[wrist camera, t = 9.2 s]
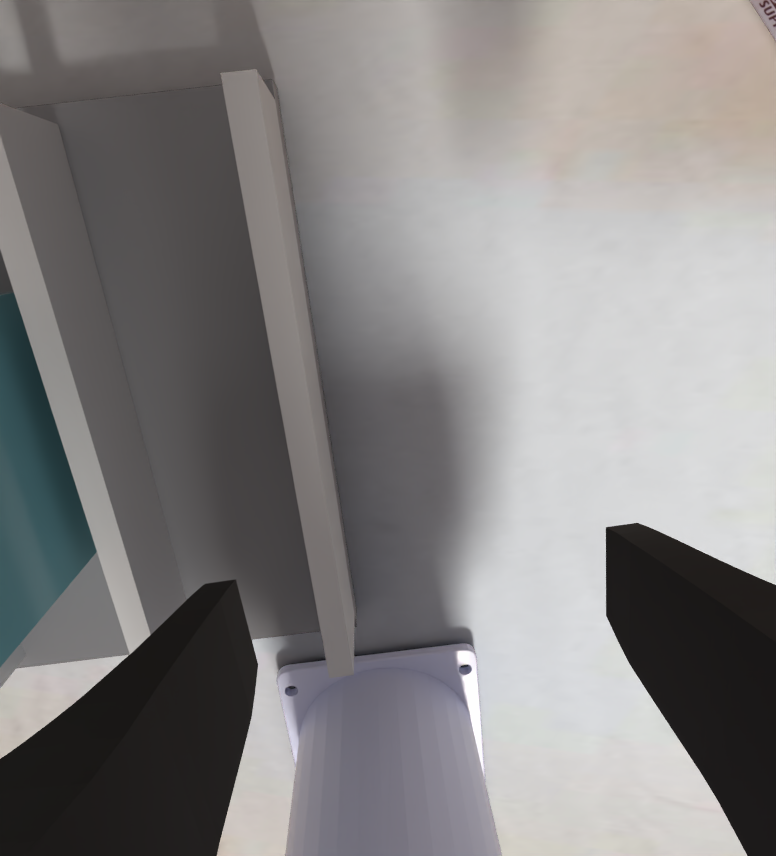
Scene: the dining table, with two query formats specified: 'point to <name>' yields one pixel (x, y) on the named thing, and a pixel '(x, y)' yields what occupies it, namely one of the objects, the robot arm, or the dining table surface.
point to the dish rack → (176, 363)
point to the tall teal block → (32, 492)
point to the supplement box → (767, 13)
